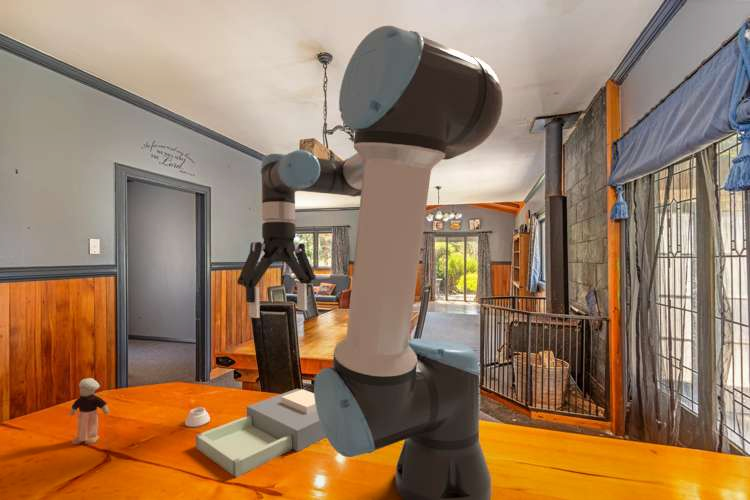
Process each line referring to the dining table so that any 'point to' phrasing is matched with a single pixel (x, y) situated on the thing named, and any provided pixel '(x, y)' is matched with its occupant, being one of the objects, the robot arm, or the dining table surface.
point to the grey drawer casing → (286, 421)
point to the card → (300, 401)
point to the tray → (241, 446)
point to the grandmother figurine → (88, 412)
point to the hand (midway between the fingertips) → (279, 313)
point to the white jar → (197, 417)
